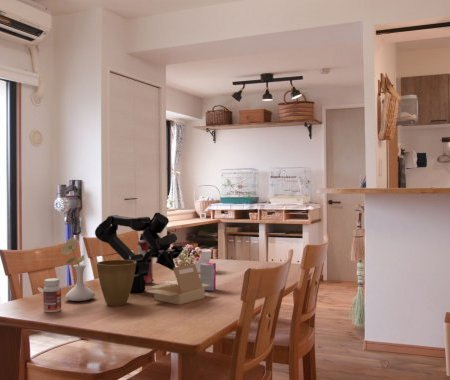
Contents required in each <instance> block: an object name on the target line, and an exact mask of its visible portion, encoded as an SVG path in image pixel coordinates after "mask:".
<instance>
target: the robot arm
mask: <svg viewBox="0 0 450 380" xmlns="http://www.w3.org/2000/svg"><path fill="white" fill-rule="evenodd" d="M169 223H170V221H169V218H168V217H167V216H165V215H164V214H161V213H160V212H155V213H154V215H153V216H152V218H151V217H150V216H141V217H138V216H137V217H131V216H130V217H129V216H120V215H117V214H115V215H108V216H107V217H106V219H104V221H102V222H100V224H99V223H98V226H96V228H95V230H94V235H95V237H96V238H97V239H98V240H99V241H100V242H103V243H105V244H108V245H109V246H110V247H111V248H112V249H113V250H114V252H115V253H116V254H117V255H119V256H120V257H121V258H122V260H132V261H136V269H135V275H134V280H133V284H132V288H131V291H130V294H137V293H145V291H146V284H145V279H144V276H147V275H148V271H149V263H150V262H151V260H150V258H153V259H155V258H156V261H155V263H156V264H158V265H161V266H163V267H165V268H167V269H168V270H170V271H173V272H174V270H173V268H175V267H176V265H175V261H174V260H176V259H178V258H179V256H180V255H181V254H182V253H183V252H184V247H183V246H182V245H180V244H177V245H173V244H174V243H176V242H177V240H178V237H177V235H176V234H175V233H170V234H166V235H164V236H163V237H161V236H160V234H161V233H162V232H163V231H164V230H165V228H166V227H167V225H168V224H169ZM119 226H120V227H121V226H122V227H128V228H130V229H131V230H133V231H135V232H142V233H140V236H139V241H140V240H146V242H147V243H148V245H149V247H148V249H149V250H147V252H146V253H145V255H144V256H143V255H142V254H138V253H136V254H135V253H134V252H133V251H132V250H131V249H130V248H129V246H127V244H125V242H123V241H122V240H121V239H120V238H119V236H118V234H117V231H118V229H119ZM143 231H144V232H143ZM171 245H173V246H171Z"/></svg>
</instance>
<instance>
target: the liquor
mask: <svg viewBox="0 0 450 380" xmlns="http://www.w3.org/2000/svg"><path fill="white" fill-rule="evenodd" d="M143 232H144V231H142V233H143ZM148 247H149V245H148V243H147V242H146V240H140V239H139V241H138V242H137V254H142V255H143V256H144V255H145V253H146V252H147V250H149V249H148ZM150 260H151V262H150V263H149V271H148V275H147V276H144V279H145V285H151V284H152V283H153V282H154V275H153V274H154V270H153V269H154V268H153V267H154V258H150Z"/></svg>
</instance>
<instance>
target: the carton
mask: <svg viewBox="0 0 450 380" xmlns="http://www.w3.org/2000/svg"><path fill="white" fill-rule="evenodd" d="M207 286H211V285H208V284H202V287H201V288H200V287H198V288H194V289H190V290H186V291H182V292H181V291H180V288H179V285H178V283H173V282H169V281H168V282H164V283H160V284H154V285H152V286H147V287H146V288H147V289H151V290H146V293H150V294H153V295H154V296H153V301H158V302H162V303H168V304H172V305H173V304H175V305H180V306H181V305H186V304H189V303H192V302H195V301H200V300H202V299H203V300H204V299H205V298H206V297H205V291H204V288H203V287H207Z"/></svg>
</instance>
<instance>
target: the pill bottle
mask: <svg viewBox="0 0 450 380" xmlns="http://www.w3.org/2000/svg"><path fill="white" fill-rule="evenodd" d="M42 289H43V290H42V291H43V292H42V293H43V294H42V295H43V312H45V313H57V312H60V311H61V310H62V286H60V278H56V277H55V278H54V277H53V278H46V279H44V287H43V288H42Z"/></svg>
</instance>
